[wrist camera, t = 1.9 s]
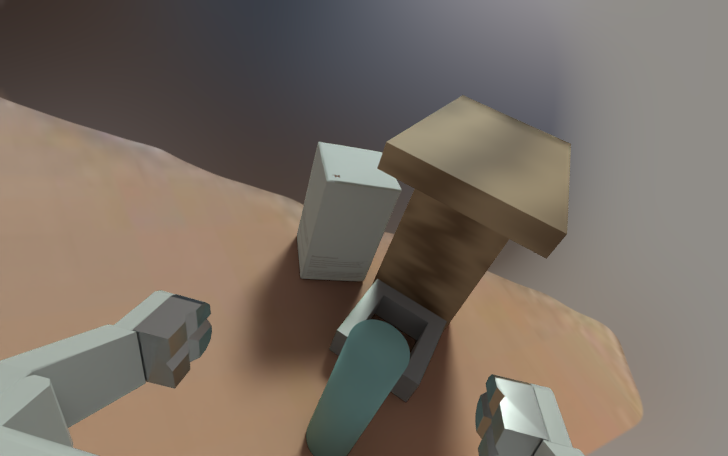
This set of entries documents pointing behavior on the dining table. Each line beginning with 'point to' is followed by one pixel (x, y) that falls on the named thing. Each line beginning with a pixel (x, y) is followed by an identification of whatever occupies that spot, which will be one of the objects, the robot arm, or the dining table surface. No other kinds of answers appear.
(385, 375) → the peg
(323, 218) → the supplement box
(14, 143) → the dining table surface
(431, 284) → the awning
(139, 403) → the dining table surface
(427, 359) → the socket
